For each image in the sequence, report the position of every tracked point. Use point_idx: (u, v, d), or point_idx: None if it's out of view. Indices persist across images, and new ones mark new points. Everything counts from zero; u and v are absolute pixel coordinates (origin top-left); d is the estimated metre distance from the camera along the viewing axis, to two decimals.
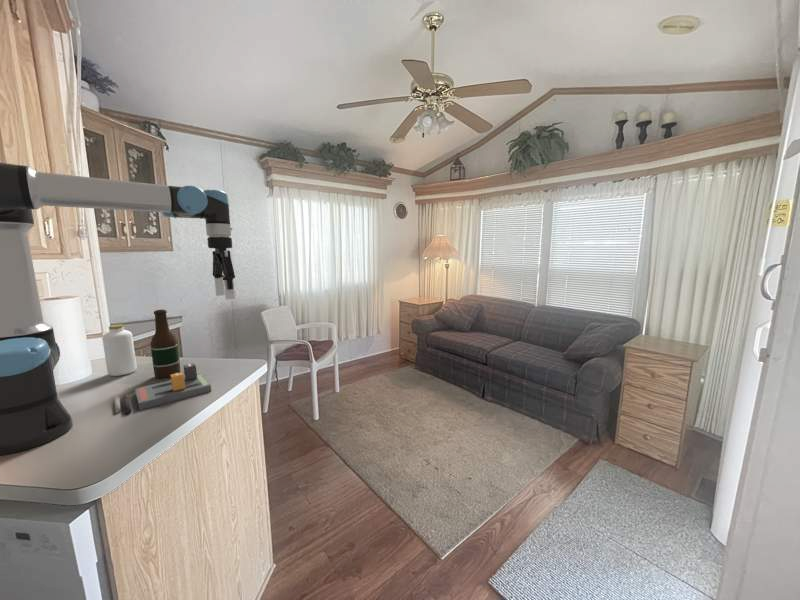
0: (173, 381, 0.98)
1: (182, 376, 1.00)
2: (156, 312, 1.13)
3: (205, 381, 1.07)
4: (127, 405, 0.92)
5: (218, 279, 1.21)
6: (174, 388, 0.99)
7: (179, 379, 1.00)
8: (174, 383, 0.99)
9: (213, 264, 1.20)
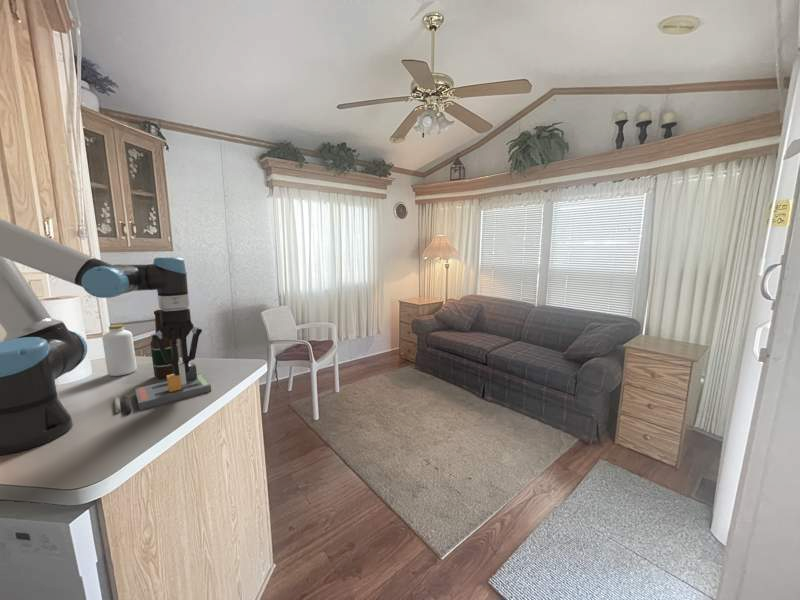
0: (169, 382, 0.98)
1: (178, 377, 0.99)
2: (156, 312, 1.13)
3: (205, 381, 1.07)
4: (127, 405, 0.92)
5: None
6: (170, 389, 0.98)
7: (176, 380, 0.99)
8: (170, 384, 0.98)
9: None
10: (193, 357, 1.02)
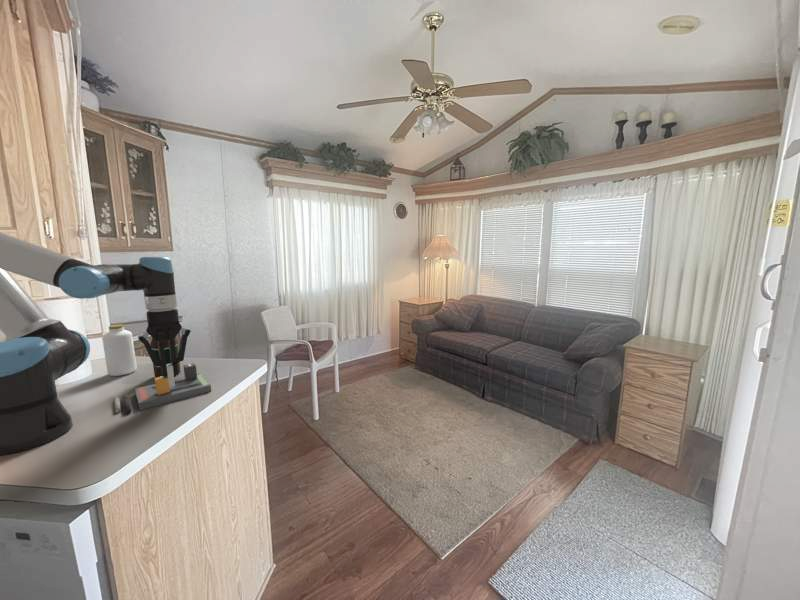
0: (157, 385, 0.96)
1: (166, 380, 0.97)
2: None
3: (205, 381, 1.07)
4: (127, 405, 0.92)
5: None
6: (158, 392, 0.96)
7: (164, 383, 0.97)
8: (158, 387, 0.96)
9: None
10: (182, 358, 1.00)
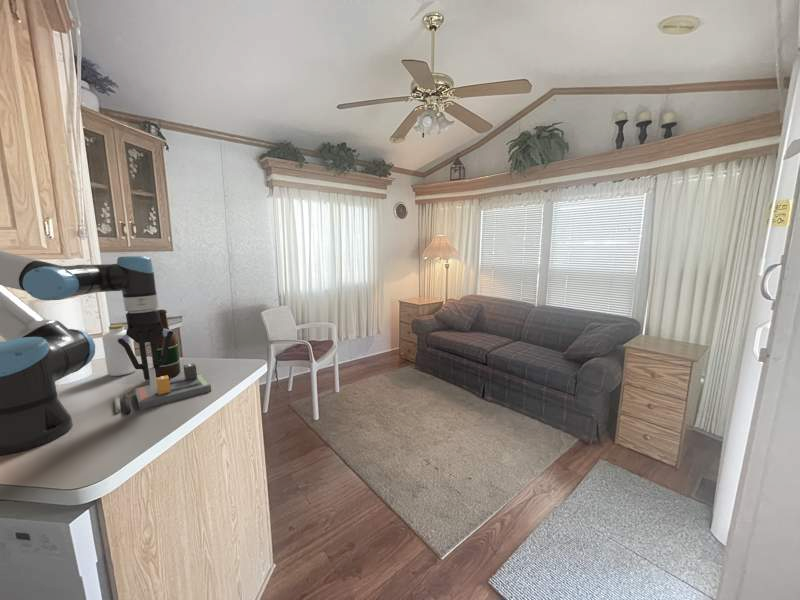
0: (158, 384, 0.96)
1: (167, 379, 0.97)
2: None
3: (205, 381, 1.07)
4: (127, 405, 0.92)
5: None
6: (158, 392, 0.96)
7: (165, 382, 0.97)
8: (159, 387, 0.96)
9: (163, 345, 0.98)
10: (164, 361, 0.97)
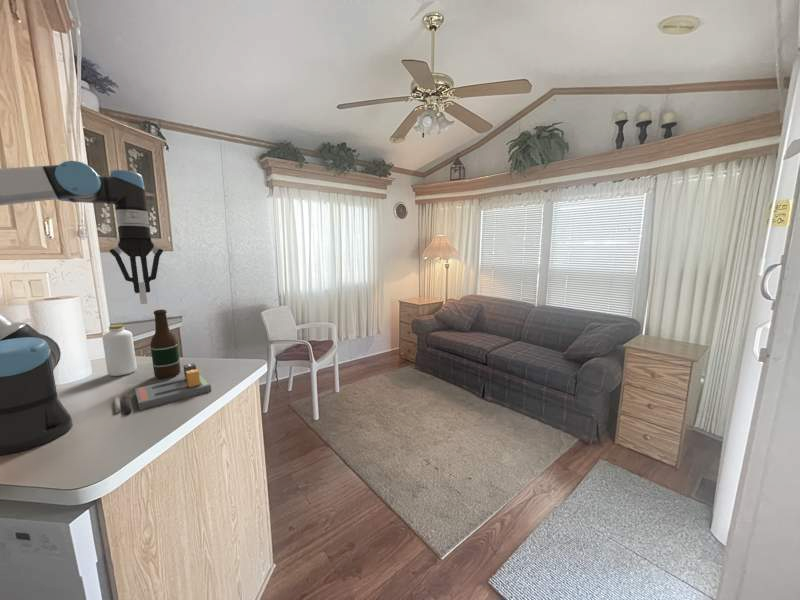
0: (189, 377, 1.01)
1: (197, 373, 1.03)
2: (156, 312, 1.13)
3: (205, 381, 1.07)
4: (127, 405, 0.92)
5: None
6: (189, 385, 1.01)
7: (195, 376, 1.02)
8: (189, 379, 1.01)
9: None
10: (154, 277, 1.02)
